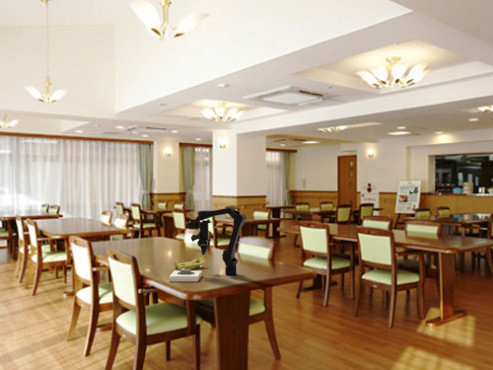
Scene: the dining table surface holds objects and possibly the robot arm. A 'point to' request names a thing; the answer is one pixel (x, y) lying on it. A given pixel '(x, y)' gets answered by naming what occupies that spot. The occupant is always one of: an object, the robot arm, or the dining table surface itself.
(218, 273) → the dining table surface
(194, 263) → the plastic component
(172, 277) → the white square base plate
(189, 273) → the servo
